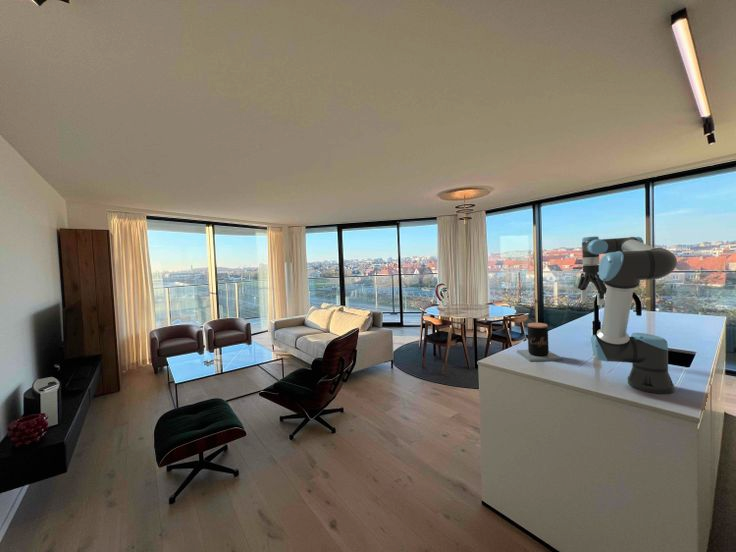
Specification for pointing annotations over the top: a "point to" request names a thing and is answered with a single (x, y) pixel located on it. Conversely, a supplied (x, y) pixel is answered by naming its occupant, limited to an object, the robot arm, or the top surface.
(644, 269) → the robot arm
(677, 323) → the top surface
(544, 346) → the coffee jar
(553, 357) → the plate
